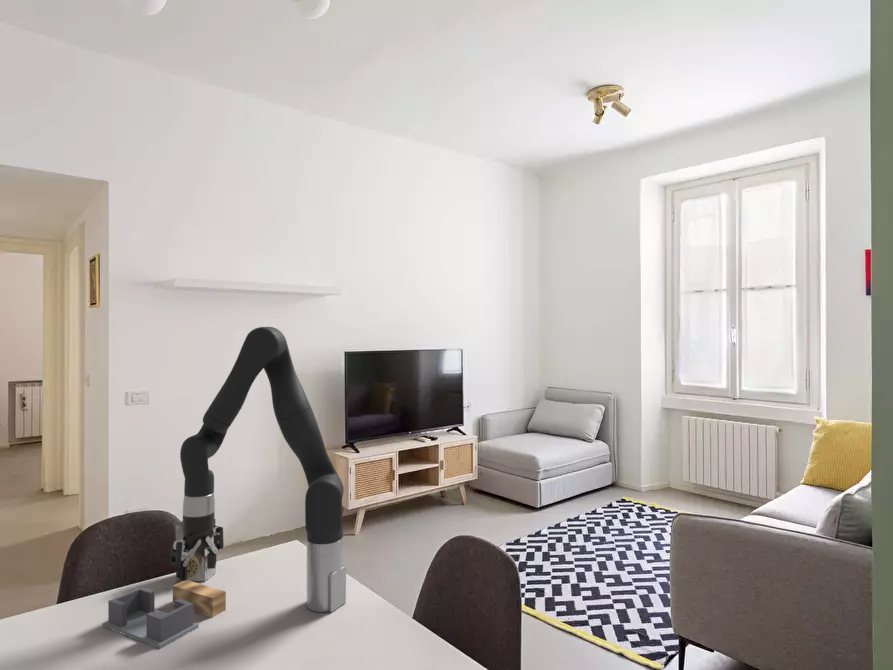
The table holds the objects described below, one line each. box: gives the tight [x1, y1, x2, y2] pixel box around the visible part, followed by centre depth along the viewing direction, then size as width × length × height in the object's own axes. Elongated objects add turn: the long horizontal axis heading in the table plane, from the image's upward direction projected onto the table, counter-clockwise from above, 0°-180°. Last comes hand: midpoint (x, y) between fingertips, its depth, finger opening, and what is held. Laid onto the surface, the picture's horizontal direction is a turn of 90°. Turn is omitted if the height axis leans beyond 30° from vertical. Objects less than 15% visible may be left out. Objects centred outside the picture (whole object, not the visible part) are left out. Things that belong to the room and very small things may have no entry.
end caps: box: [102, 586, 199, 649], centre depth 132 cm, size 21×10×6 cm, turn 63°
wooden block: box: [172, 580, 227, 618], centre depth 142 cm, size 15×4×5 cm, turn 63°
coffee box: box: [175, 518, 217, 582], centre depth 160 cm, size 9×6×16 cm
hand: (197, 573), depth 142 cm, fingers open, 8 cm apart
